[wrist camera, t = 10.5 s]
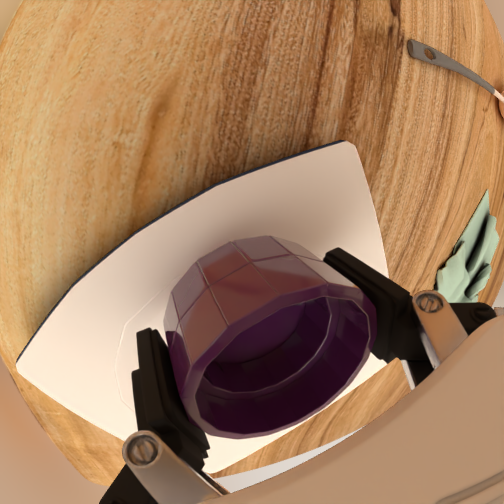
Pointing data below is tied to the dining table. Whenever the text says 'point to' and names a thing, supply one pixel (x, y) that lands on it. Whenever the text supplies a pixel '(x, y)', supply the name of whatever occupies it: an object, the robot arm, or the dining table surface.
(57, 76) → the dining table surface
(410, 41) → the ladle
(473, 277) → the cloth
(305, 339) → the plum bowl
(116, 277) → the plate
